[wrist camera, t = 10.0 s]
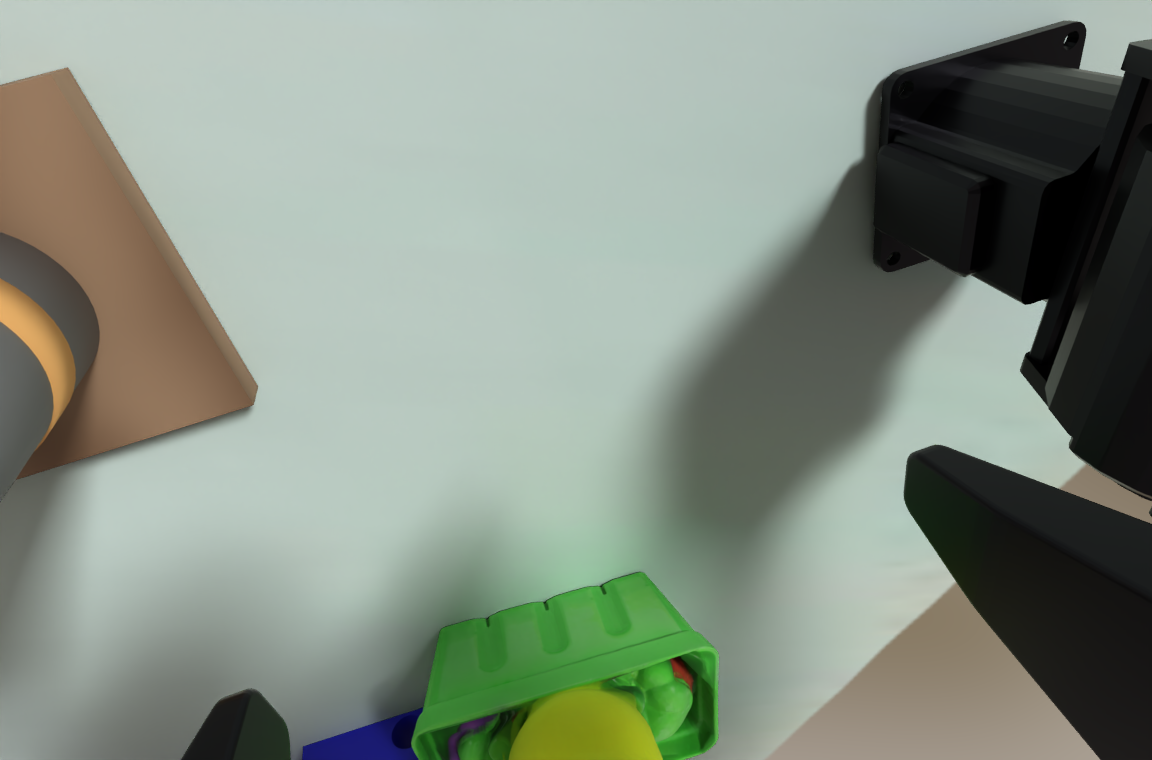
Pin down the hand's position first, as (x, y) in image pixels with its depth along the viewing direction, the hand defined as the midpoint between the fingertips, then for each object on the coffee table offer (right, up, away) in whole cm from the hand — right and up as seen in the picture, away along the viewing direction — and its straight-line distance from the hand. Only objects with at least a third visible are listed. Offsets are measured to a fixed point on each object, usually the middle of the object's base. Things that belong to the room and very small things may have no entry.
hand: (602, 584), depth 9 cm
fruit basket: (-2, -8, +21) cm, 22 cm away
